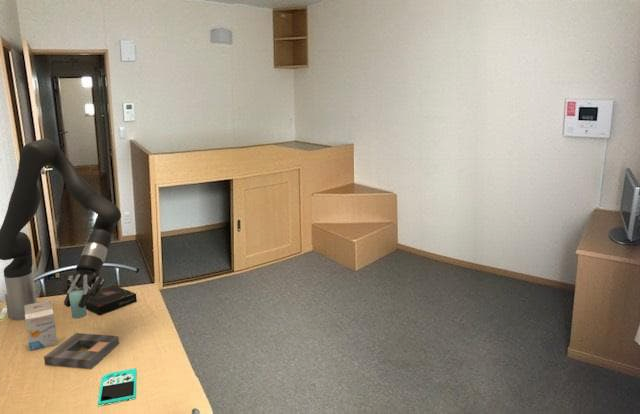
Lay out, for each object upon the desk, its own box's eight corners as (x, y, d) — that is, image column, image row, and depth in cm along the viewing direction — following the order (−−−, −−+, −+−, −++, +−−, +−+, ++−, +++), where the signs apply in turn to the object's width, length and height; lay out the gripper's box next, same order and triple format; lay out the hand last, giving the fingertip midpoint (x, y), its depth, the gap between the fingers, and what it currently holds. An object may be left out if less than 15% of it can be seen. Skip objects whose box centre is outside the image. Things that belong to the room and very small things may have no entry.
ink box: (29, 351, 162) (23, 310, 158) (28, 345, 166) (22, 305, 162) (57, 344, 166) (52, 304, 163) (56, 338, 170) (51, 299, 167)
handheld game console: (137, 371, 150) (136, 367, 150) (136, 400, 135) (136, 396, 135) (102, 377, 147) (102, 373, 147) (97, 408, 132) (97, 403, 132)
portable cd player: (113, 293, 211) (113, 284, 210) (136, 302, 201) (136, 293, 200) (77, 306, 198) (76, 297, 197) (99, 316, 188) (98, 307, 187)
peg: (68, 318, 155) (65, 295, 153) (77, 312, 159) (74, 289, 157) (81, 318, 154) (78, 295, 152) (89, 313, 158) (86, 290, 157)
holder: (45, 364, 153) (43, 355, 152) (77, 340, 168) (76, 332, 168) (90, 368, 151) (89, 359, 150) (119, 343, 166) (118, 335, 165)
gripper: (67, 253, 161) (47, 301, 152) (106, 254, 159) (88, 303, 150) (79, 262, 167) (60, 309, 158) (117, 264, 165) (100, 312, 156)
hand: (74, 306), depth 154 cm, fingers closed on peg, 4 cm apart
